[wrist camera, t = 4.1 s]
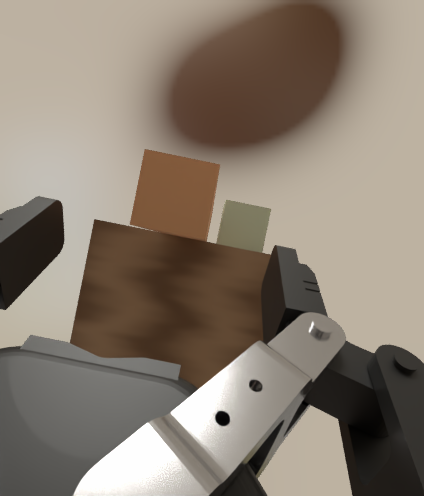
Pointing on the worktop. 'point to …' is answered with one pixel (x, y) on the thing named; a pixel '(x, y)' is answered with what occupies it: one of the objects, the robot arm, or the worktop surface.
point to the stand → (168, 300)
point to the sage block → (243, 226)
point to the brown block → (175, 195)
